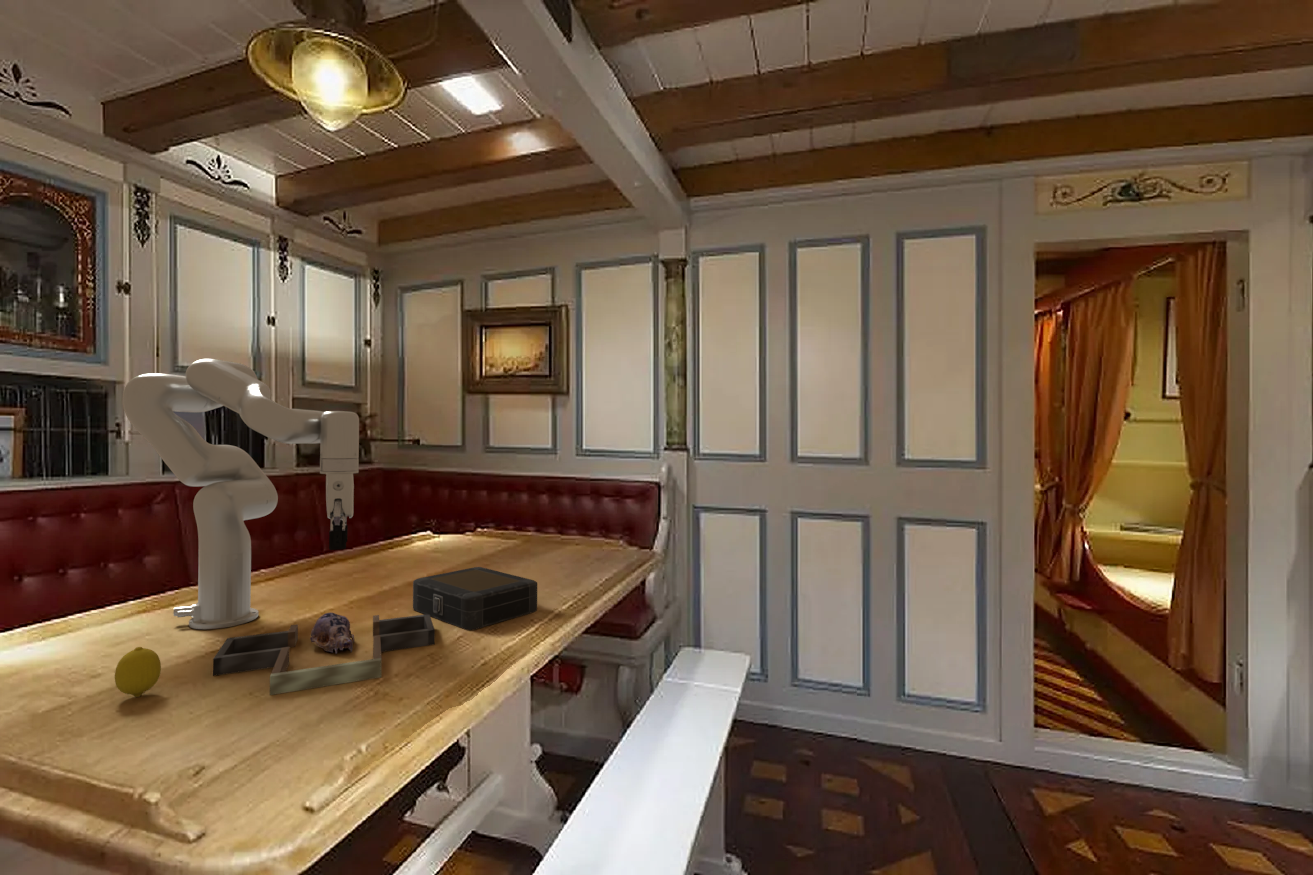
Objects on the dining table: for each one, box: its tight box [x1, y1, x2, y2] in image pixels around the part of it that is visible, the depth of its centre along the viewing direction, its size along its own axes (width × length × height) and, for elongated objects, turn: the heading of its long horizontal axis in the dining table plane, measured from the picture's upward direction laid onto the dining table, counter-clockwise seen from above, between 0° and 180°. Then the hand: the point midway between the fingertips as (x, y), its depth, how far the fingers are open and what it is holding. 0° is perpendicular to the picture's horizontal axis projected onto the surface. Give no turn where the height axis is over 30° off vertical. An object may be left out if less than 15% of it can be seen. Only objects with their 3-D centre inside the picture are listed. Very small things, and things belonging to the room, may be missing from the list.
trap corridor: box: [212, 614, 436, 696], centre depth 110 cm, size 36×28×3 cm
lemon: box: [114, 646, 162, 698], centre depth 92 cm, size 6×6×8 cm
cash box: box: [412, 566, 538, 631], centre depth 140 cm, size 25×20×8 cm
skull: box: [309, 612, 356, 655], centre depth 115 cm, size 12×8×6 cm, turn 39°
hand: (338, 545), depth 128 cm, fingers open, 7 cm apart
